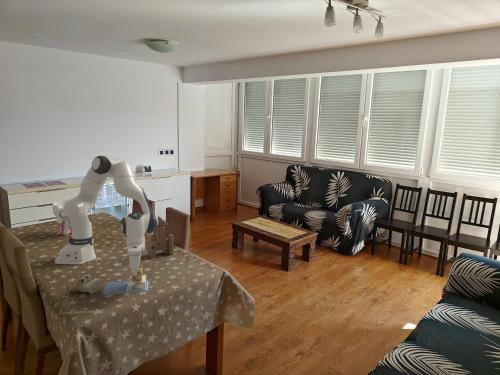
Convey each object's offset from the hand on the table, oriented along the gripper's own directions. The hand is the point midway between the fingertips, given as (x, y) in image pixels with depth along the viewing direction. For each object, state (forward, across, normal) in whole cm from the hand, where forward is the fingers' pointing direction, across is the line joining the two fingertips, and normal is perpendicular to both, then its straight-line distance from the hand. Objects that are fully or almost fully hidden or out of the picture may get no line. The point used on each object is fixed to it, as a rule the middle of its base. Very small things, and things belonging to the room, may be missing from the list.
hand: (136, 271), depth 181 cm
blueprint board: (+9, 0, -4) cm, 10 cm away
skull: (+10, -95, -55) cm, 110 cm away
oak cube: (+4, 0, 0) cm, 4 cm away
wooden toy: (+10, -45, +11) cm, 47 cm away
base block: (+8, 0, 0) cm, 8 cm away
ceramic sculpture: (+10, 0, -24) cm, 26 cm away
